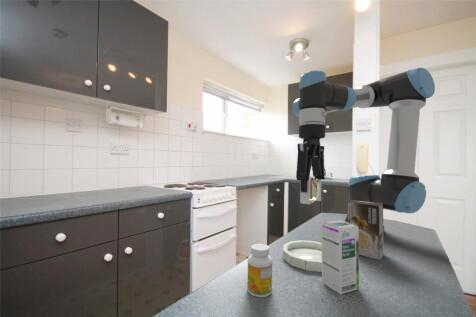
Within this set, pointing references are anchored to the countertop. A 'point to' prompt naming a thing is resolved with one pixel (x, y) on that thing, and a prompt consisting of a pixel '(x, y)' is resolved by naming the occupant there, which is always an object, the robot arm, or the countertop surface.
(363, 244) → the coffee box
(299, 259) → the ring dish
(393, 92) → the robot arm
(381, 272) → the countertop surface
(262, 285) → the supplement bottle
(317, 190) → the ring
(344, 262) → the syrup box
